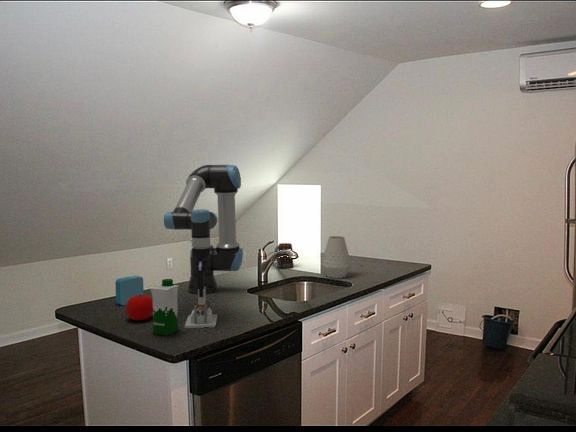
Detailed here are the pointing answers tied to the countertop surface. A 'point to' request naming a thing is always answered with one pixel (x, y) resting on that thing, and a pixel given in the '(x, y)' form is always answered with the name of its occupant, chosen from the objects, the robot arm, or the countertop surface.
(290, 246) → the mug
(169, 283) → the milk carton
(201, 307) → the wooden bar
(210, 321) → the base
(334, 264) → the vase
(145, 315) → the tomato
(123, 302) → the light blue flat block
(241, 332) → the countertop surface
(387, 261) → the countertop surface
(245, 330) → the countertop surface
